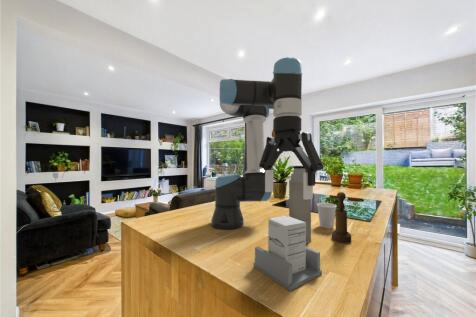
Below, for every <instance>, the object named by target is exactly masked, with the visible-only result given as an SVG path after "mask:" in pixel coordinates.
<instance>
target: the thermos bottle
mask: <svg viewBox="0 0 476 317" xmlns="http://www.w3.org/2000/svg"><path fill="white" fill-rule="evenodd" d="M292 168H293V171H292V172H293V173H292V174H290V179H289V180H288V216H289V217H292V218H295V219H297V220H300V221H303V222H306V244H309V243H311V242H312V214H311V213H312V212H311V211H312V199H307V200H305V199H303V173H304V172H305V171H306V170H305V168H304V167H303V165H293V166H292Z"/></svg>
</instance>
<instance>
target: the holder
mask: <svg viewBox="0 0 476 317" xmlns="http://www.w3.org/2000/svg"><path fill="white" fill-rule="evenodd" d="M253 267H254V268H255V269H257V270H258V271H260V272H261V273H262V274H264V275H265V276H267V277H268V278H270V279H272V280H273V281H275V282H276V283H277V284H279V285H280V286H282V287H283V288H284V289H286V290H288V291H289V292H292V291H294V290H295V289H298V288H300V287H301V286H303V285H304V284H306V283H308V282H310V281H312V280H314V279H316V278H317V277H319V276H322V274H323V270H322V269H321V252H320V251H318V250H316V249H314V248H310V247H308V246H306V269H305V270H302V271H299V272H297V273H294V274H292V264H291V263H289V262H287V261H285V260H283V259H281V258H279V257H277V256H275V255H274V254H272V253H270V252H268V250H266V249H264V248H262V247H260V246H256V247H254V262H253Z"/></svg>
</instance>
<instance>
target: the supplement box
mask: <svg viewBox="0 0 476 317" xmlns="http://www.w3.org/2000/svg"><path fill="white" fill-rule="evenodd" d="M267 219H268V224H267V225H268V229H267V230H268V232H267V234H268V235H267V238H268V242H267V246H268V247H267V248H268V249H267V251H268V252H270V253H272V254H274V255H275V256H277V257H279V258H281V259H283V260H285V261H287V262H289V263H291V264H292V274H294V273H297V272H299V271H302V270H305V269H306V247H307V243H306V222H303V221H300V220H297V219H295V218H292V217H289V215H283V216H277V217H271V218H270V217H269V218H267Z"/></svg>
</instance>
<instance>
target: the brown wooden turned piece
mask: <svg viewBox="0 0 476 317" xmlns="http://www.w3.org/2000/svg"><path fill="white" fill-rule="evenodd" d="M336 197H337V200H338V203H337V207H338V209H337V208H336V210H335V230H333V231H331V240H333V241H334V242H337V243H340V244H350V243H351V242H352V234H351V233H350V232H349V231H348V210H346V209H344V208H345V204H344V200H346V197H347V196H346V193H344V192H342V191H341V192H340V191H339V192H337V194H336Z"/></svg>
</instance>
